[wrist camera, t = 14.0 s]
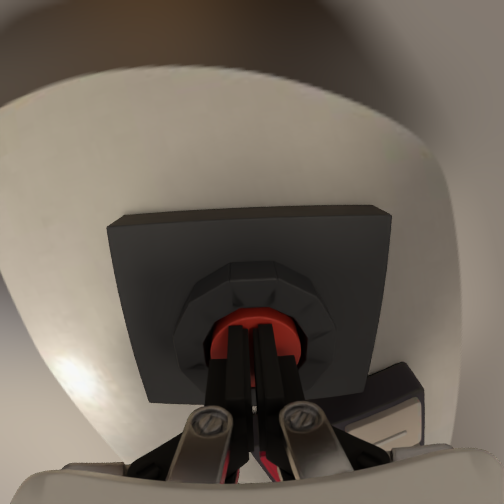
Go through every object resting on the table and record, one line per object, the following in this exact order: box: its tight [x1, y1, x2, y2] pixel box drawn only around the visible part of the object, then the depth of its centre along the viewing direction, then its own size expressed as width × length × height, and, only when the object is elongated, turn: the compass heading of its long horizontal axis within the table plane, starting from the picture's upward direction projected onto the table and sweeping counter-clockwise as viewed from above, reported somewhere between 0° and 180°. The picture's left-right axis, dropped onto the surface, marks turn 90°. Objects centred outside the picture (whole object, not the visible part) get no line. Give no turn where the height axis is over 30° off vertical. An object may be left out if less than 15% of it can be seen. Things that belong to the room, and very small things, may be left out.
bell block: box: [107, 205, 392, 406], centre depth 14 cm, size 12×10×4 cm
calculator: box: [251, 362, 425, 482], centre depth 19 cm, size 11×4×15 cm
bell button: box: [210, 307, 301, 387], centre depth 13 cm, size 4×4×2 cm
